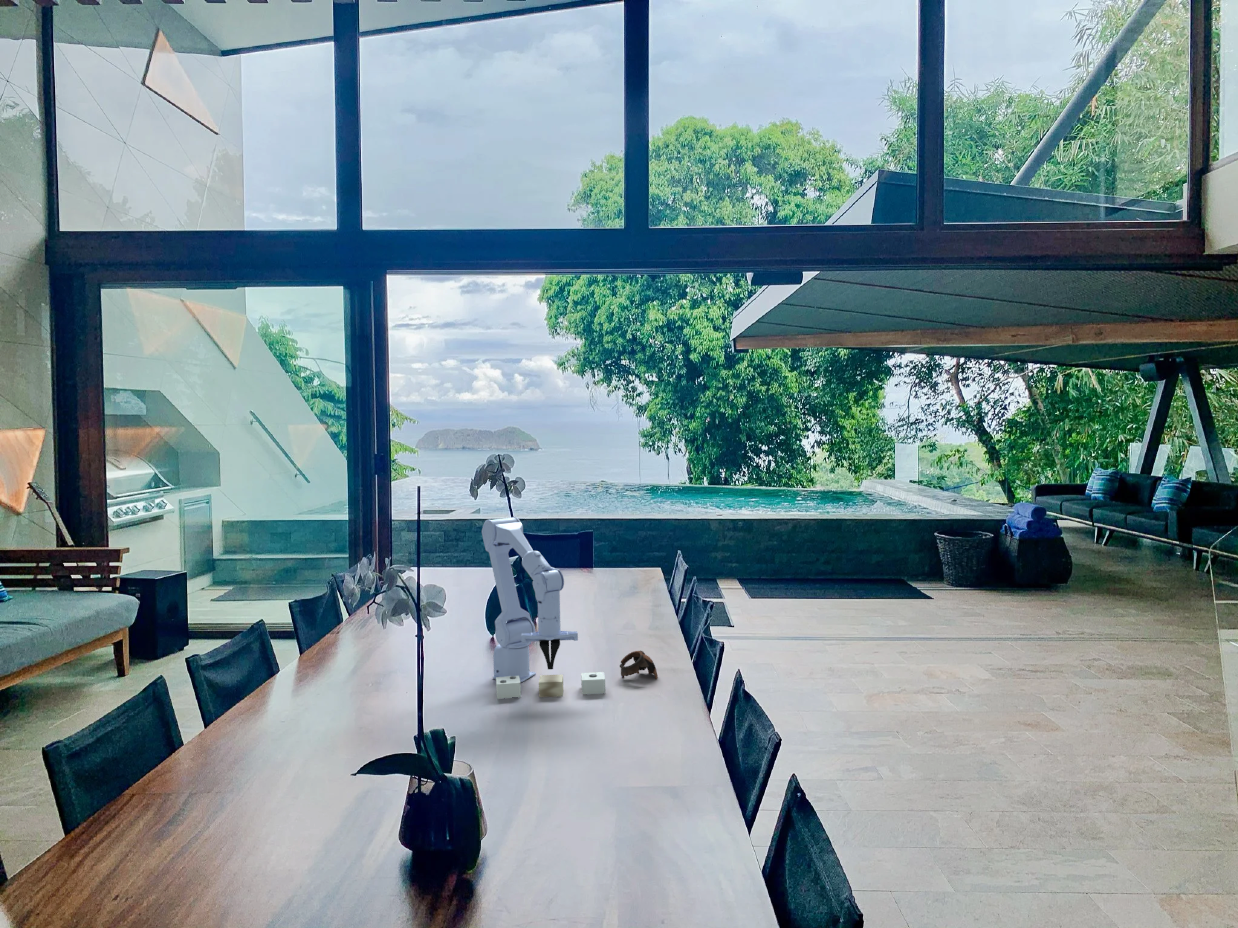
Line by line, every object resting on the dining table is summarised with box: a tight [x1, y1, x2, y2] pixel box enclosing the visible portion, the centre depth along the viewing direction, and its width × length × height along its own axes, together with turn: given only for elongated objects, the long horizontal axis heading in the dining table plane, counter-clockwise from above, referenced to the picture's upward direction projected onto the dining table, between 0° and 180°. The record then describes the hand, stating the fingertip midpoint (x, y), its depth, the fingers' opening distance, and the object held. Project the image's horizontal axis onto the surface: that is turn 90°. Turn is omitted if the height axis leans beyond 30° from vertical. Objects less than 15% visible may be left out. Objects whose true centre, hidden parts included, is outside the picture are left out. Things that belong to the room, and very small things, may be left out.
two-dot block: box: [495, 676, 522, 700], centre depth 221 cm, size 6×6×4 cm
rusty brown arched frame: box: [619, 650, 659, 680], centre depth 233 cm, size 12×10×8 cm
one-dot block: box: [580, 671, 606, 695], centre depth 222 cm, size 6×6×4 cm
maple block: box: [538, 674, 564, 698], centre depth 221 cm, size 6×6×4 cm
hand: (550, 668), depth 221 cm, fingers closed
